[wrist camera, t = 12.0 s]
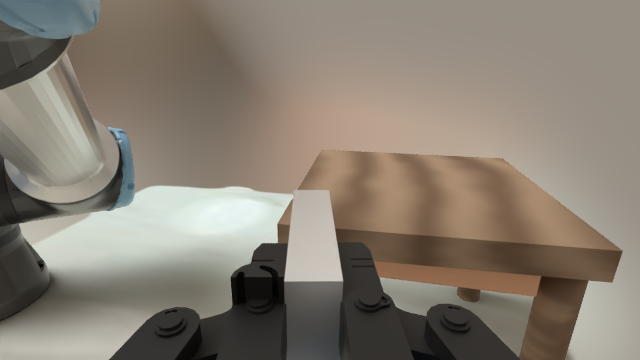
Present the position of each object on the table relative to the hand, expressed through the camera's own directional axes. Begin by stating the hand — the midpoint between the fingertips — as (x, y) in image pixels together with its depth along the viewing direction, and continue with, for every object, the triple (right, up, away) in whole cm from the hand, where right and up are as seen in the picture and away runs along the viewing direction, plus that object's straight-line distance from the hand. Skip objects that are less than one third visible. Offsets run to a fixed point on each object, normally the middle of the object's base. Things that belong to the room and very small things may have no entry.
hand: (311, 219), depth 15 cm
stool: (+10, -18, +28) cm, 34 cm away
